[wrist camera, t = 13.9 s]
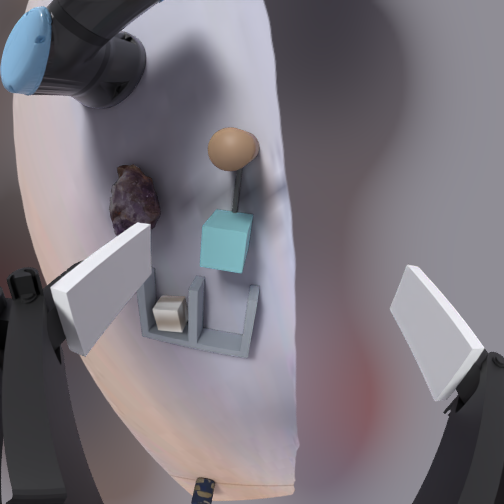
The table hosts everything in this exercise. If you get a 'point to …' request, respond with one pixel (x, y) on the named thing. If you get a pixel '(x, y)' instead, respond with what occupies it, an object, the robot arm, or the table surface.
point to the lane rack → (196, 322)
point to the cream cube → (171, 313)
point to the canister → (203, 491)
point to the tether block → (232, 222)
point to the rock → (133, 199)
